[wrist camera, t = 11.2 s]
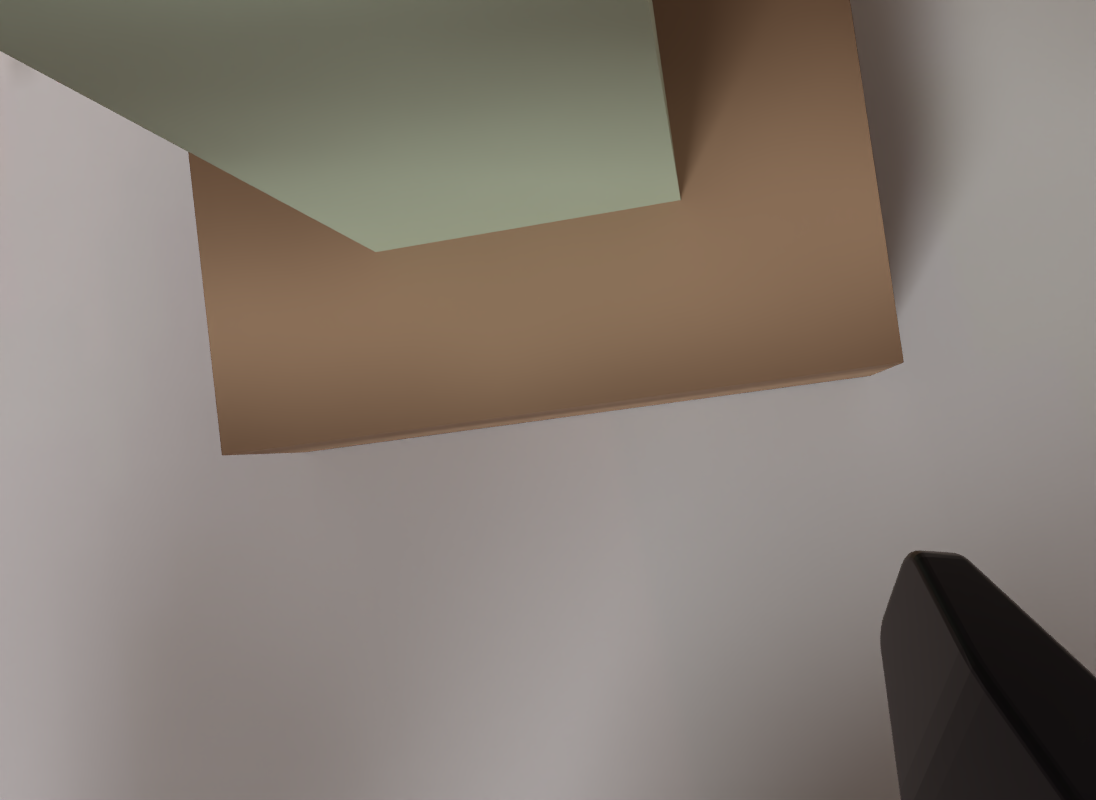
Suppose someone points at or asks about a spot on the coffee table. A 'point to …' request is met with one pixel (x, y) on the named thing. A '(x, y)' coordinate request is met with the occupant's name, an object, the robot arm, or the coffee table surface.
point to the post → (383, 102)
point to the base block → (580, 267)
